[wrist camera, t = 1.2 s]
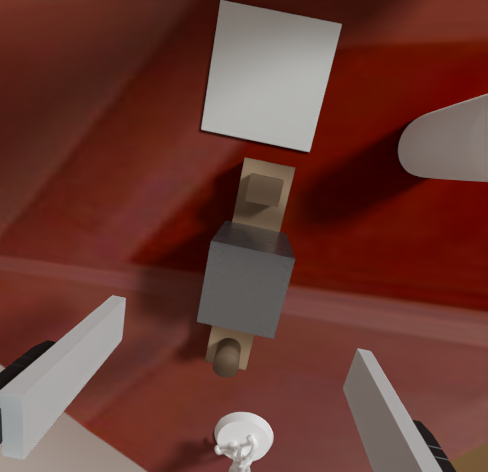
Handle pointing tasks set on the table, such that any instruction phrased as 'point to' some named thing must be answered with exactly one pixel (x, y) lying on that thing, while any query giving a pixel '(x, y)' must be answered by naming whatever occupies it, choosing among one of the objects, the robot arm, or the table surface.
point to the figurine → (243, 439)
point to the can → (448, 142)
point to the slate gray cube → (246, 279)
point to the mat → (268, 75)
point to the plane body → (259, 215)
